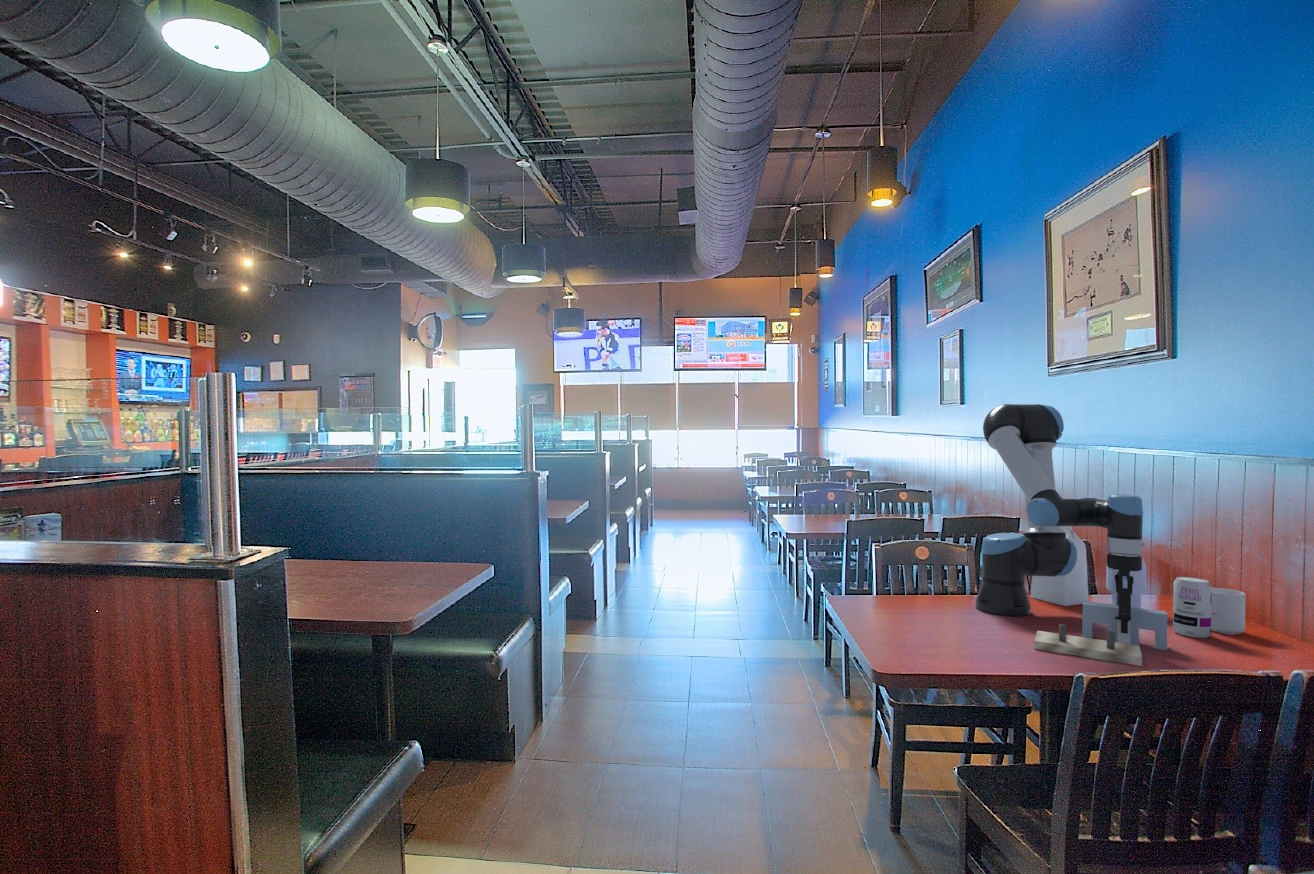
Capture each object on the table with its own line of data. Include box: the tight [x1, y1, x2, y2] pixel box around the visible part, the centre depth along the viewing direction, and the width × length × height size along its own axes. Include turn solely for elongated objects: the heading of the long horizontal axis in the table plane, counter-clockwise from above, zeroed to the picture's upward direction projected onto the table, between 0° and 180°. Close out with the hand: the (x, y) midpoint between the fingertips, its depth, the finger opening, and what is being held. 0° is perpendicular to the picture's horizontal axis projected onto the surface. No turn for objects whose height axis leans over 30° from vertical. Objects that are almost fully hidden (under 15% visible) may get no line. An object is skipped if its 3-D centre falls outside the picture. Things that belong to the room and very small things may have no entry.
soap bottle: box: [1105, 557, 1148, 608], centre depth 209 cm, size 10×10×24 cm
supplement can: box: [1172, 576, 1213, 639], centre depth 182 cm, size 8×8×15 cm
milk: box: [1030, 526, 1090, 607], centre depth 220 cm, size 12×12×26 cm
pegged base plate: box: [1033, 623, 1143, 667], centre depth 166 cm, size 22×11×6 cm, turn 57°
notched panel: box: [1081, 601, 1168, 651], centre depth 174 cm, size 18×4×9 cm, turn 57°
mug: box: [1211, 587, 1246, 636], centre depth 188 cm, size 12×9×11 cm
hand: (1123, 640), depth 174 cm, fingers open, 8 cm apart
